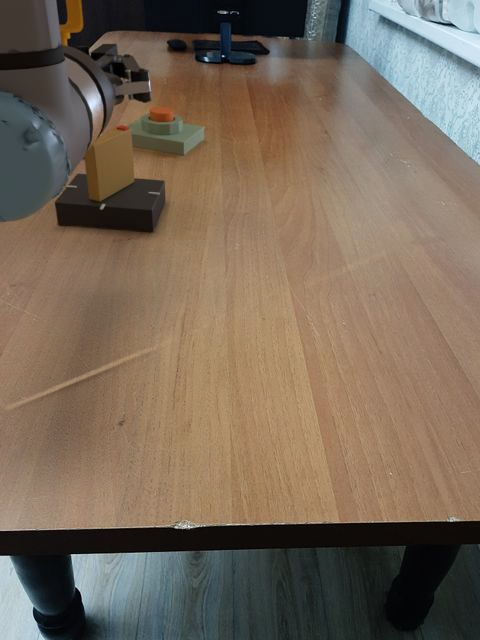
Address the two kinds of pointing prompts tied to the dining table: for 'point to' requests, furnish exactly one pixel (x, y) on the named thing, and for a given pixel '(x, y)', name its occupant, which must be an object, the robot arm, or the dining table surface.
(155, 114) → the button
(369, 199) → the dining table surface
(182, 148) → the button box
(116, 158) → the yellow angular block
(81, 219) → the black dial base
